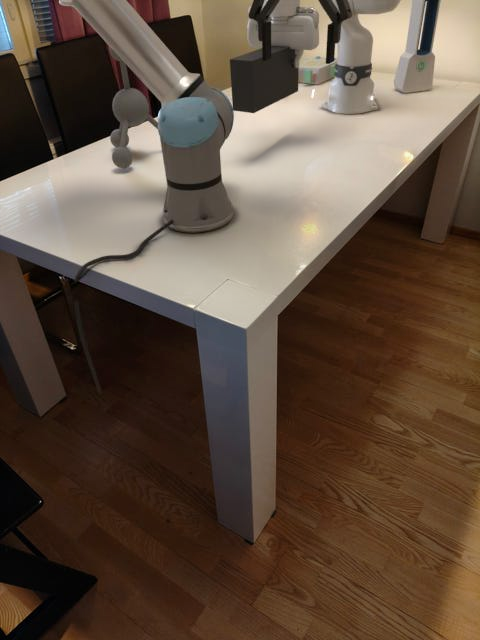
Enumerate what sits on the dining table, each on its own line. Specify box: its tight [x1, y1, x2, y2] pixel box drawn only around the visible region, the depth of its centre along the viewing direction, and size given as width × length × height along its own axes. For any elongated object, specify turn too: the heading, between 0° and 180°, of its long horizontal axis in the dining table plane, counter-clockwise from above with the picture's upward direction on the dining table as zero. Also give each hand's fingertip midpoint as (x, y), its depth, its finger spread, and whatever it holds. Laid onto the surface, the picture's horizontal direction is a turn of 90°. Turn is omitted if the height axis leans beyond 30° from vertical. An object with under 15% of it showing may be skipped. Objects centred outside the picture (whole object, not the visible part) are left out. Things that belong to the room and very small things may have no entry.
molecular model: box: [108, 45, 158, 169], centre depth 132 cm, size 24×22×30 cm
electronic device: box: [393, 0, 442, 94], centre depth 176 cm, size 12×8×30 cm, turn 105°
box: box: [229, 46, 299, 114], centre depth 128 cm, size 23×6×12 cm, turn 146°
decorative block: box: [298, 55, 337, 85], centre depth 205 cm, size 26×6×20 cm
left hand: (297, 61), depth 97 cm, fingers open, 13 cm apart
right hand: (282, 66), depth 133 cm, fingers closed on box, 6 cm apart
